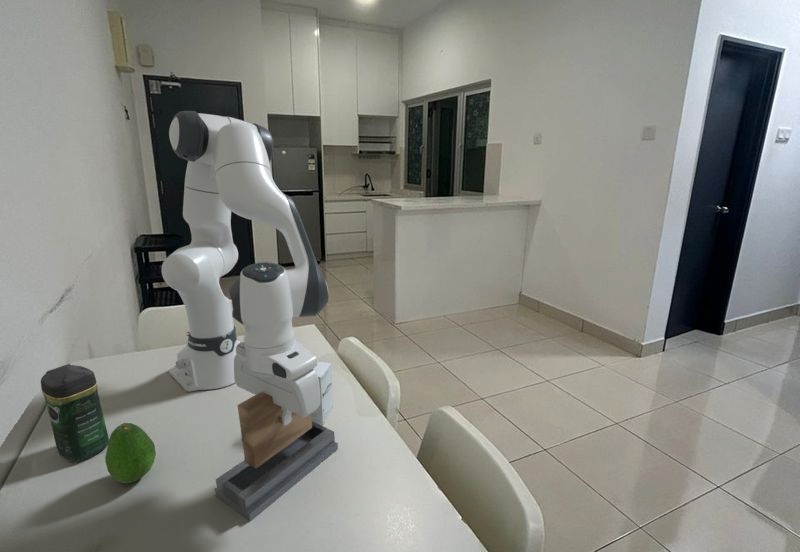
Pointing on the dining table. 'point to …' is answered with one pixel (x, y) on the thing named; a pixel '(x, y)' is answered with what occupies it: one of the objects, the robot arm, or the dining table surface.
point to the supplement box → (323, 393)
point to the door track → (274, 472)
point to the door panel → (267, 428)
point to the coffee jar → (75, 412)
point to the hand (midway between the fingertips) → (277, 418)
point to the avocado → (129, 453)
